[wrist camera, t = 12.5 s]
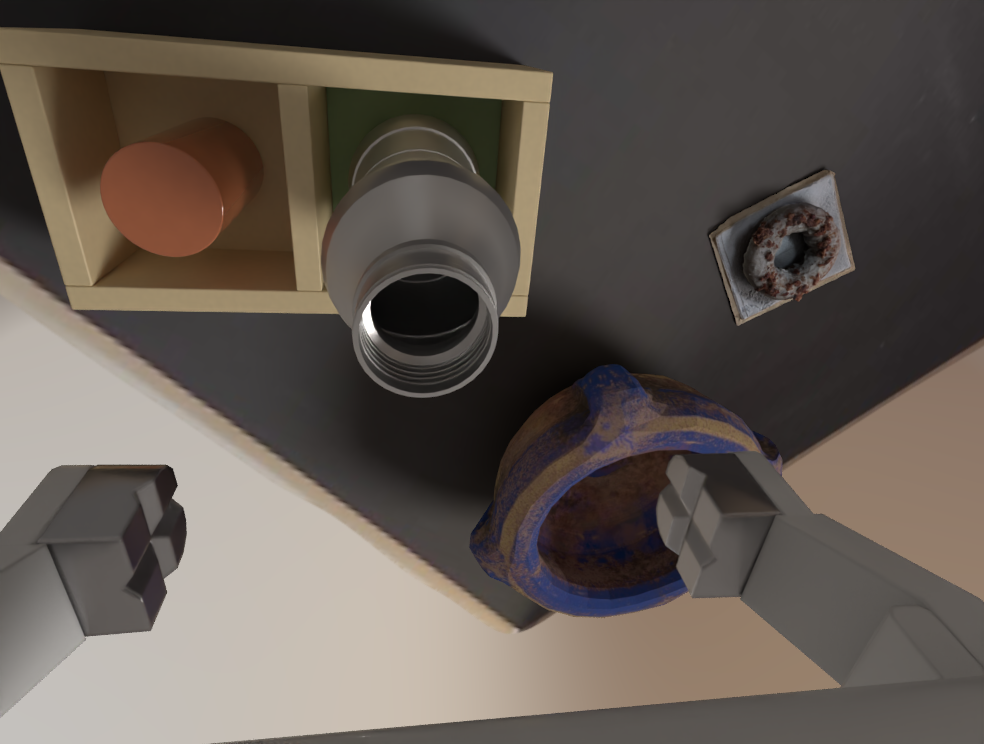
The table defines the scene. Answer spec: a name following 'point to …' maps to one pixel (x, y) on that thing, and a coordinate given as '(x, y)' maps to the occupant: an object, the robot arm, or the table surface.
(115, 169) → the orange cylinder
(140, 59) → the divided box
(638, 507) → the bowl
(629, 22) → the table surface
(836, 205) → the donut
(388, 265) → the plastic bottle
